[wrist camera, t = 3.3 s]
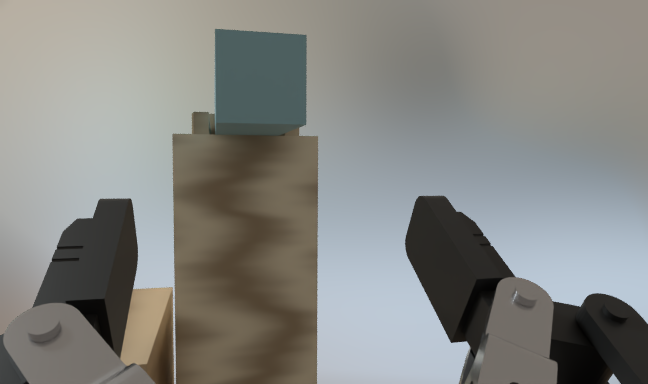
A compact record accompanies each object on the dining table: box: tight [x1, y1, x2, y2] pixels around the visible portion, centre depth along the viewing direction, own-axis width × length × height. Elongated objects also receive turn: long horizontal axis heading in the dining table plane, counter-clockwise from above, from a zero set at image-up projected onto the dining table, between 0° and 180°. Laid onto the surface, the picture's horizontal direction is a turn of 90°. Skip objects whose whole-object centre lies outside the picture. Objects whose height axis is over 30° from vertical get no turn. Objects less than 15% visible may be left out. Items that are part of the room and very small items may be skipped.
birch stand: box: [173, 112, 318, 384], centre depth 35 cm, size 8×15×34 cm, turn 13°
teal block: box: [215, 29, 306, 136], centre depth 29 cm, size 4×22×4 cm, turn 13°
